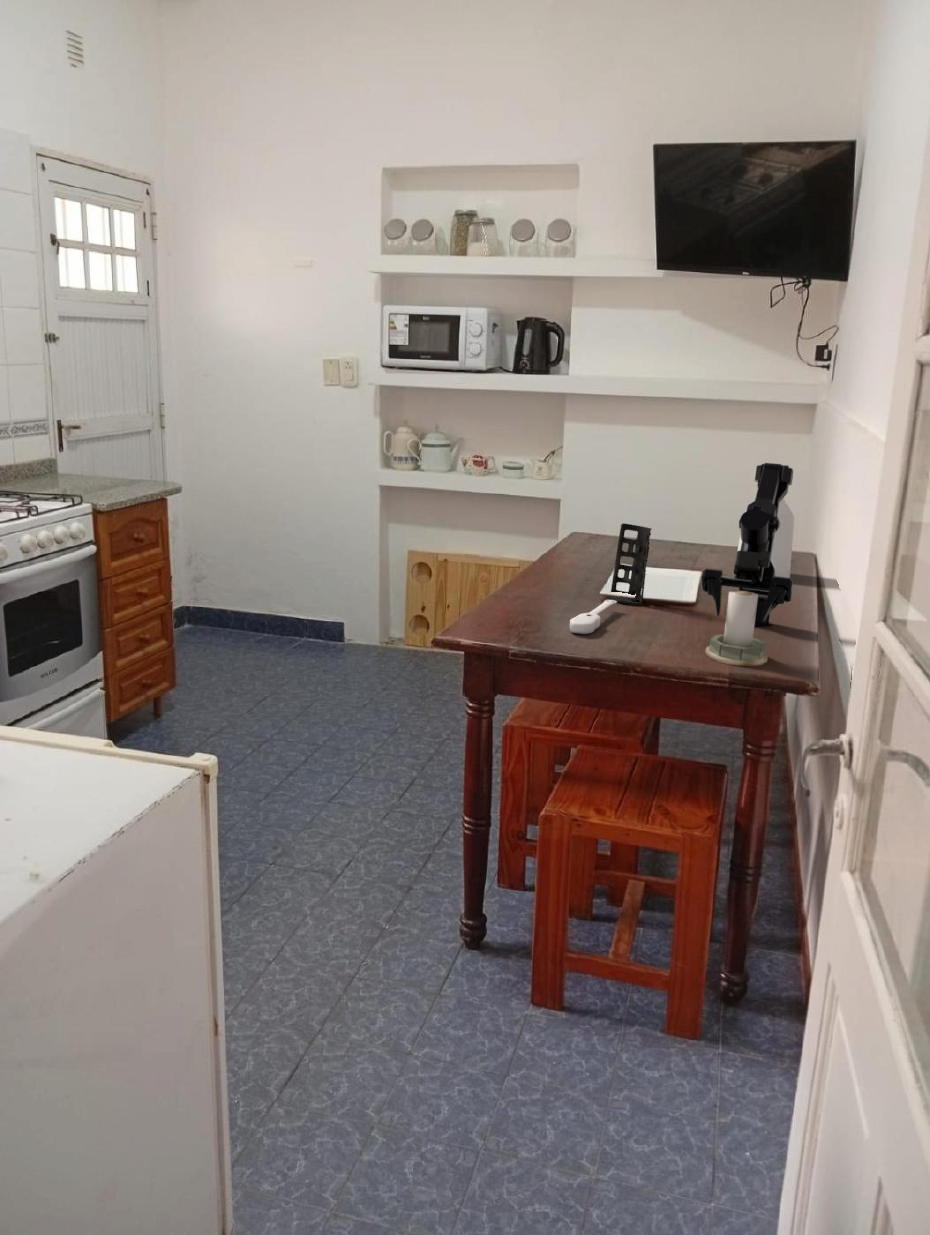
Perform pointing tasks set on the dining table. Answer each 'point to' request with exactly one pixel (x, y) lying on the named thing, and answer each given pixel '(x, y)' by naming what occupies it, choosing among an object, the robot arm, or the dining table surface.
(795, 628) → the dining table surface
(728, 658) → the stand
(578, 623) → the white long handled piece
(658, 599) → the dining table surface
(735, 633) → the paper roll
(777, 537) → the milk
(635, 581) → the holder
